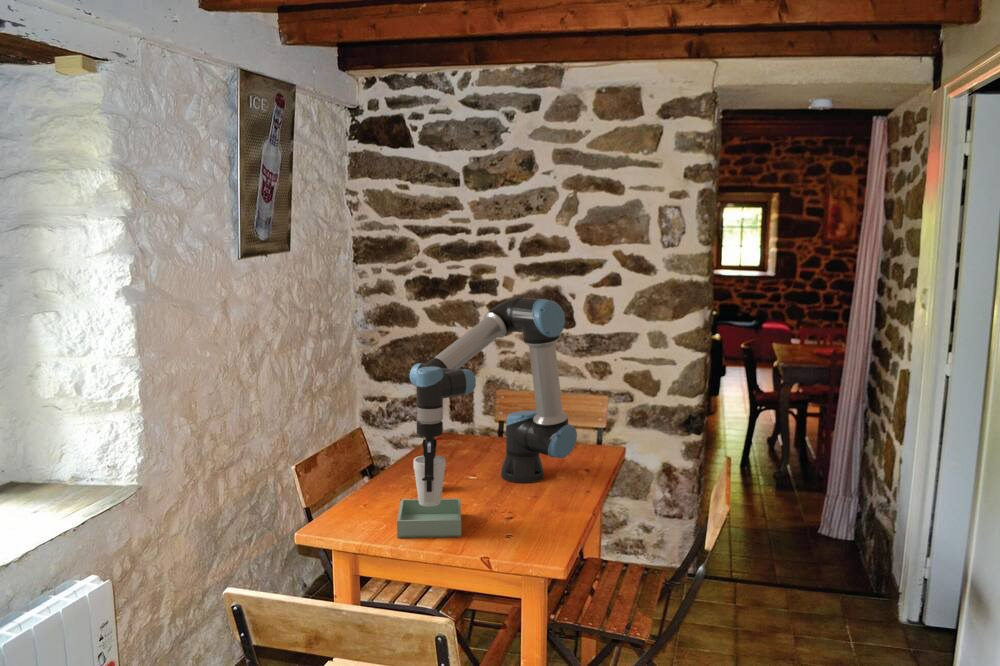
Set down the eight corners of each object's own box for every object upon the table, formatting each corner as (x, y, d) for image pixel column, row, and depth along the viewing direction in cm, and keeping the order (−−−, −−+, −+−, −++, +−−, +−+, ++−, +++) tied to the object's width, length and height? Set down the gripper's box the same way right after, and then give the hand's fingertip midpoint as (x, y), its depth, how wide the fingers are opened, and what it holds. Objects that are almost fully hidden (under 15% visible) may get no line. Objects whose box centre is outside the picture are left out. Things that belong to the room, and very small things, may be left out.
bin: (460, 514, 246) (460, 498, 245) (461, 537, 228) (461, 520, 227) (401, 515, 245) (401, 499, 244) (397, 538, 227) (397, 521, 226)
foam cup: (414, 497, 240) (413, 455, 238) (445, 497, 240) (445, 454, 239) (413, 508, 230) (413, 464, 229) (445, 508, 231) (445, 464, 229)
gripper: (418, 412, 243) (418, 483, 246) (414, 430, 221) (415, 509, 224) (443, 411, 243) (443, 483, 246) (442, 430, 221) (442, 509, 224)
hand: (429, 495), depth 235 cm, fingers closed on foam cup, 9 cm apart
